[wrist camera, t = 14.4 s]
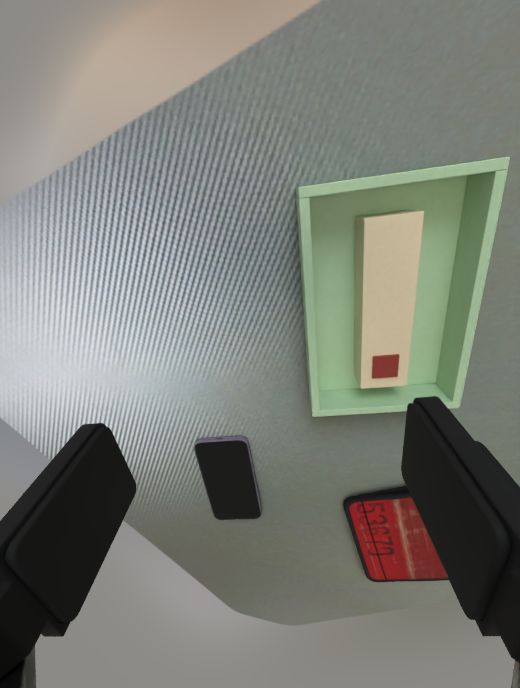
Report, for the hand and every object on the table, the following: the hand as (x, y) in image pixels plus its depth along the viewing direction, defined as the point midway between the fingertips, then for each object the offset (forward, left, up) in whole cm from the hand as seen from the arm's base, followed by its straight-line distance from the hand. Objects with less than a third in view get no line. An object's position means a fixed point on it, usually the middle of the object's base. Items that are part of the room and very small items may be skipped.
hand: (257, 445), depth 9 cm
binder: (+40, +16, -22) cm, 49 cm away
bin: (+3, +10, -22) cm, 24 cm away
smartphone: (+27, -9, -22) cm, 36 cm away
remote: (+3, +10, -21) cm, 24 cm away
